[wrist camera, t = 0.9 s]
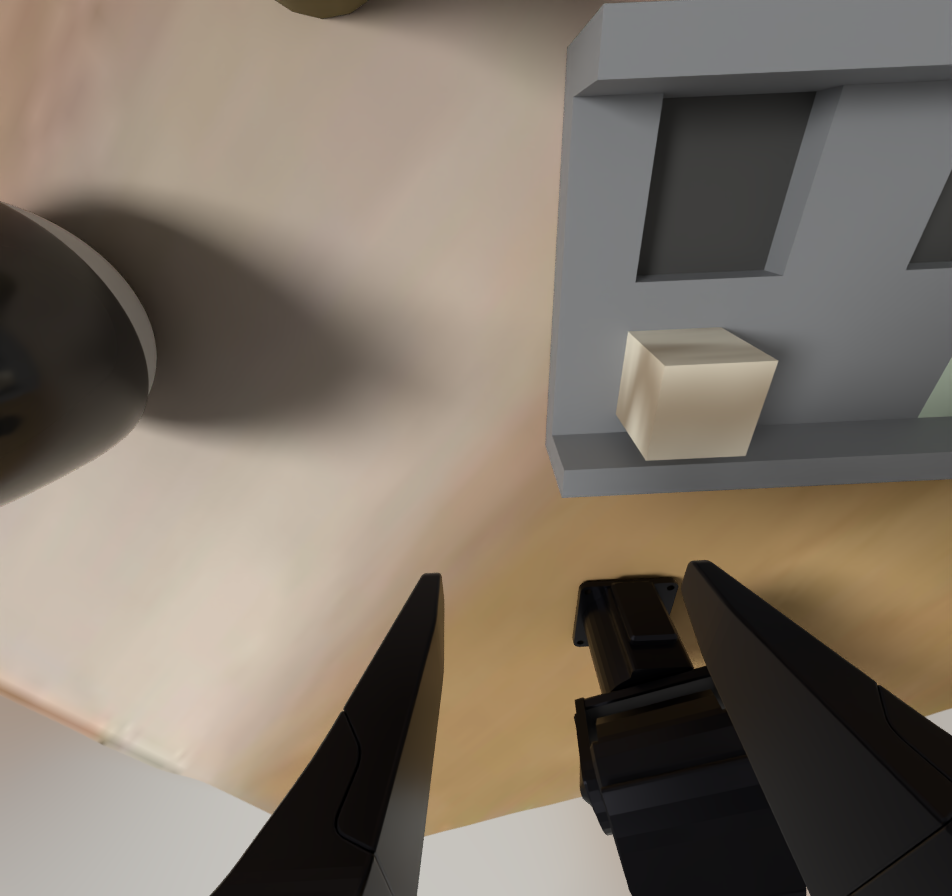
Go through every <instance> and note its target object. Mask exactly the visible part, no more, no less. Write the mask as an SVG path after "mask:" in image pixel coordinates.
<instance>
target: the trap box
mask: <svg viewBox="0 0 952 896" xmlns="http://www.w3.org/2000/svg"><path fill="white" fill-rule="evenodd" d="M714 327H722V328H723V329H725V330H727V331H728V332H730V333H732V334H734V335H735V336H737V337H739V338H740V339H742V340H744V341H746V342H747V343H749V344H751V345H752V346H754V347H756V348H758V349H759V350H761V351H763V352H764V353H766V354H768V355H770V356H771V357H773V358H775V359H776V360H778V364H777V367H776V370H775V372H774V375H773V378H772V381H771V384H770V387H769V390H768V393H767V396H766V398H765V401H764V404H763V407H762V410H761V413H760V416H759V419H758V421H757V424H756V427H755V430H754V433H753V436H752V439H751V442H750V444H749V447H748V450H747V453H746V456H734V457H713V458H692V459H672V460H651V461H646V460H645V459H644V457H643V456H642V454H641V452H640V451H639V449H638V448H637V446H636V445H635V443H634V442H633V440H632V439H631V437H630V435H629V434H628V432H627V431H626V429H625V428H624V426H623V425H622V423H621V422H620V420H619V419H618V417H617V415H616V409H617V403H618V396H619V389H620V382H621V376H622V369H623V362H624V356H625V349H626V342H627V336H628V331H649V330H671V329H692V328H714ZM545 445H546V449H547V452H548V455H549V458H550V461H551V465H552V468H553V471H554V474H555V477H556V481H557V484H558V487H559V490H560V493H561V496H562V498H568V497H589V496H610V495H631V494H651V493H672V492H693V491H713V490H734V489H755V488H775V487H796V486H817V485H838V484H858V483H879V482H900V481H920V480H941V479H952V0H675V1H652V2H629V3H605V4H603V5H602V7H601V8H600V9H599V10H598V11H597V13H596V14H595V15H594V16H593V17H592V19H591V20H590V21H589V22H588V23H587V25H586V26H585V27H584V28H583V29H582V31H581V32H580V33H579V34H578V35H577V37H576V38H575V39H574V40H573V41H572V43H571V44H570V45H569V46H568V47H567V63H566V81H565V99H564V117H563V136H562V154H561V172H560V190H559V208H558V226H557V245H556V263H555V281H554V299H553V317H552V335H551V353H550V372H549V390H548V408H547V426H546V444H545Z"/></svg>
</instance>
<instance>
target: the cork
mask: <svg viewBox="0 0 952 896" xmlns="http://www.w3.org/2000/svg"><path fill="white" fill-rule="evenodd" d="M276 1H277V2H279V3H280V4H282V5H283V6H285V7H286V8H288V9H289V10H291V11H292V12H296V13H301V14H305V15H309V16H313V17H317V18H321V19H323V18H329V17H334V16H339V15H345V14H350V13H351V12H353V11H354V10H356V9H357V8H359V7H360V6H361V5H363V4H364V3H366V2H367V1H368V0H276Z"/></svg>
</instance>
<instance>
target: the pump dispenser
mask: <svg viewBox="0 0 952 896" xmlns="http://www.w3.org/2000/svg"><path fill="white" fill-rule="evenodd" d="M156 362H157V353H156V344H155V338H154V334H153V330H152V327H151V324H150V321H149V319H148V316H147V314H146V312H145V310H144V308H143V306H142V304H141V303H140V301H139V299H138V297H137V296H136V294H135V293H134V291H133V290H132V289H131V287H130V286H129V285H128V283H127V282H126V281H125V279H124V278H123V277H122V276H121V275H120V274H119V273H118V271H117V270H116V269H115V268H114V267H113V266H112V265H111V264H110V263H109V262H108V261H107V260H106V259H104V258H103V257H102V256H101V255H100V254H99V253H98V252H96V251H95V250H94V249H92V248H91V247H90V246H89V245H87V244H86V243H85V242H83V241H82V240H80V239H79V238H77V237H76V236H74V235H73V234H71V233H70V232H68V231H66V230H65V229H63V228H61V227H59V226H58V225H56V224H54V223H52V222H50V221H48V220H46V219H44V218H42V217H40V216H38V215H36V214H33V213H31V212H28V211H26V210H23V209H21V208H18V207H16V206H13V205H10V204H7V203H4V202H1V201H0V507H2V506H4V505H6V504H9V503H11V502H13V501H15V500H17V499H20V498H22V497H24V496H26V495H28V494H30V493H32V492H34V491H36V490H38V489H40V488H42V487H44V486H46V485H48V484H50V483H52V482H54V481H56V480H58V479H60V478H62V477H64V476H66V475H67V474H69V473H71V472H73V471H75V470H77V469H79V468H80V467H82V466H84V465H86V464H88V463H89V462H91V461H93V460H94V459H96V458H98V457H99V456H101V455H102V454H104V453H105V452H107V451H108V450H110V449H111V448H113V447H114V446H115V445H117V444H118V443H119V442H120V441H122V440H123V439H124V438H125V437H126V436H127V435H128V434H129V433H130V432H131V431H132V430H133V429H134V428H135V427H136V425H137V424H138V422H139V420H140V419H141V417H142V415H143V412H144V410H145V407H146V403H147V399H148V395H149V393H150V390H151V387H152V384H153V381H154V377H155V372H156Z"/></svg>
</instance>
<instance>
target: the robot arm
mask: <svg viewBox="0 0 952 896" xmlns="http://www.w3.org/2000/svg"><path fill="white" fill-rule="evenodd" d="M677 590H678V584H677V582H676V581H675V579H673V578H659V579H639V580H618V581H598V582H585V583H582V584H581V585H580V586H579V591H578V599H577V607H576V615H575V622H574V630H573V643H574V645H575V646H577V647H584V646H589V649H590V652H591V656H592V660H593V663H594V667H595V671H596V674H597V678H598V682H599V685H600V689H601V693H602V694H601V695H597V696H593V697H589V698H586V699H584V698H579V699H576V700H575V706H576V714H575V716H574V720H575V724H576V730H577V739H578V747H579V755H580V791H581V795H582V797H583V799H584V800H585V801H586V802H587V803H588V804H590V805H591V806H592V807H593V810H594V812H595V814H596V816H597V818H598V821H599V823H600V826H601V827H602V830H603V831H604V833H605V834H606V835H612V834H613V837H614V840H615V844H616V846H617V850H618V854H619V857H620V860H621V864H622V867H623V871H624V874H625V877H626V880H627V884H628V887H629V891H630V893H631V894H632V896H806V886H807V889H808V891H809V893H810V895H811V896H952V736H951V735H950V734H949V733H947V732H946V731H944V730H943V729H941V728H940V727H938V726H937V725H935V724H934V723H933V722H931V721H930V720H928V719H927V718H926V717H924V716H923V715H921V714H920V713H918V712H917V711H916V710H914V709H913V708H911V707H910V706H909V705H907V704H906V703H904V702H903V701H902V700H900V699H899V698H897V697H896V696H895V695H893V694H892V693H891V692H889V691H888V690H886V689H885V688H884V687H882V686H881V685H877V683H876V682H875V681H874V680H873V679H871V678H870V677H868V676H867V675H866V674H864V673H863V672H862V671H860V670H859V669H857V668H856V667H855V666H853V665H852V664H851V663H849V662H848V661H846V660H845V659H844V658H842V657H841V656H840V655H838V654H837V653H836V652H834V651H833V650H831V649H830V648H829V647H827V646H826V645H825V644H823V643H822V642H820V641H819V640H818V639H816V638H815V637H814V636H812V635H811V634H809V633H808V632H807V631H805V630H804V629H803V628H801V627H800V626H799V625H797V624H796V623H794V622H793V621H792V620H790V619H789V618H788V617H786V616H785V615H783V614H782V613H781V612H779V611H778V610H777V609H775V608H774V607H772V606H771V605H770V604H768V603H767V602H766V601H764V600H763V599H762V598H760V597H759V596H757V595H756V594H755V593H753V592H752V591H751V590H749V589H748V588H746V587H745V586H744V585H742V584H741V583H740V582H738V581H737V580H735V579H734V578H733V577H731V576H730V575H729V574H727V573H726V572H725V571H723V570H722V569H720V568H719V567H718V566H716V565H715V564H714V563H712V562H710V561H708V560H699V561H691V562H690V563H689V564H688V566H687V569H686V572H685V575H684V578H683V582H682V585H681V592H682V596H683V599H684V602H685V605H686V608H687V611H688V614H689V617H690V620H691V623H692V626H693V629H694V632H695V635H696V638H697V641H698V644H699V647H700V650H701V653H702V656H703V658H704V661H705V663H706V666H703V667H700V668H696V669H694V667H693V664H692V662H691V660H690V658H689V656H688V654H687V652H686V650H685V648H684V645H683V643H682V641H681V639H680V637H679V635H678V633H677V631H676V629H675V626H674V624H673V622H672V620H671V618H670V612H671V609H672V606H673V603H674V599H675V596H676V593H677ZM443 673H444V593H443V585H442V576H441V574H440V573H425V574H423V575H422V576H421V578H420V579H419V581H418V583H417V584H416V586H415V588H414V590H413V591H412V593H411V595H410V596H409V598H408V600H407V601H406V603H405V605H404V606H403V608H402V610H401V611H400V613H399V615H398V617H397V618H396V620H395V622H394V623H393V625H392V627H391V628H390V630H389V632H388V633H387V635H386V637H385V638H384V640H383V642H382V644H381V645H380V647H379V649H378V650H377V652H376V654H375V655H374V657H373V659H372V660H371V662H370V664H369V665H368V667H367V669H366V671H365V672H364V674H363V676H362V677H361V679H360V681H359V682H358V684H357V686H356V687H355V689H354V691H353V692H352V694H351V696H350V698H349V699H348V701H347V703H346V704H345V706H344V708H343V710H344V711H342V712H341V713H340V714H339V716H338V718H337V719H336V721H335V723H334V724H333V726H332V728H331V729H330V731H329V733H328V734H327V736H326V737H325V739H324V741H323V742H322V744H321V745H320V747H319V748H318V750H317V752H316V753H315V755H314V756H313V758H312V759H311V761H310V762H309V764H308V765H307V767H306V768H305V769H304V771H303V772H302V774H301V775H300V777H299V778H298V779H297V781H296V782H295V784H294V785H293V787H292V788H291V789H290V791H289V792H288V794H287V795H286V796H285V798H284V799H283V800H282V802H281V803H280V804H279V806H278V807H277V809H276V810H275V811H274V813H273V814H272V815H271V817H270V818H269V820H268V821H267V822H266V824H265V825H264V826H263V828H262V829H261V831H260V832H259V833H258V835H257V836H256V838H255V839H254V840H253V842H252V843H251V844H250V846H249V847H248V848H247V850H246V851H245V853H244V854H243V855H242V857H241V858H240V859H239V861H238V862H237V863H236V865H235V866H234V868H233V869H232V870H231V871H230V873H229V874H228V875H227V876H226V878H225V879H224V880H223V881H222V882H221V884H220V885H219V886H218V887H217V888H216V890H214V891H213V893H212V894H211V895H210V896H417V889H418V880H419V872H420V865H421V856H422V848H423V840H424V832H425V824H426V815H427V807H428V799H429V791H430V783H431V774H432V766H433V758H434V750H435V741H436V733H437V725H438V717H439V709H440V700H441V692H442V684H443Z"/></svg>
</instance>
